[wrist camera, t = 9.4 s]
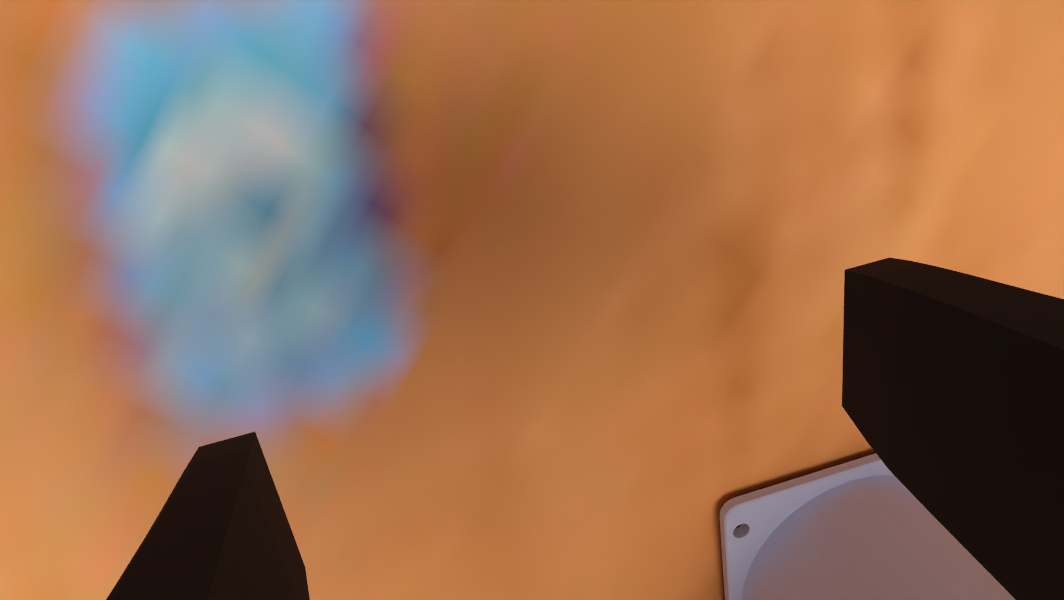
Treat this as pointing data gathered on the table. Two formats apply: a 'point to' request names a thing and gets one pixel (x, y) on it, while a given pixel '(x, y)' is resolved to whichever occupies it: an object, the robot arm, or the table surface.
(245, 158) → the table surface
